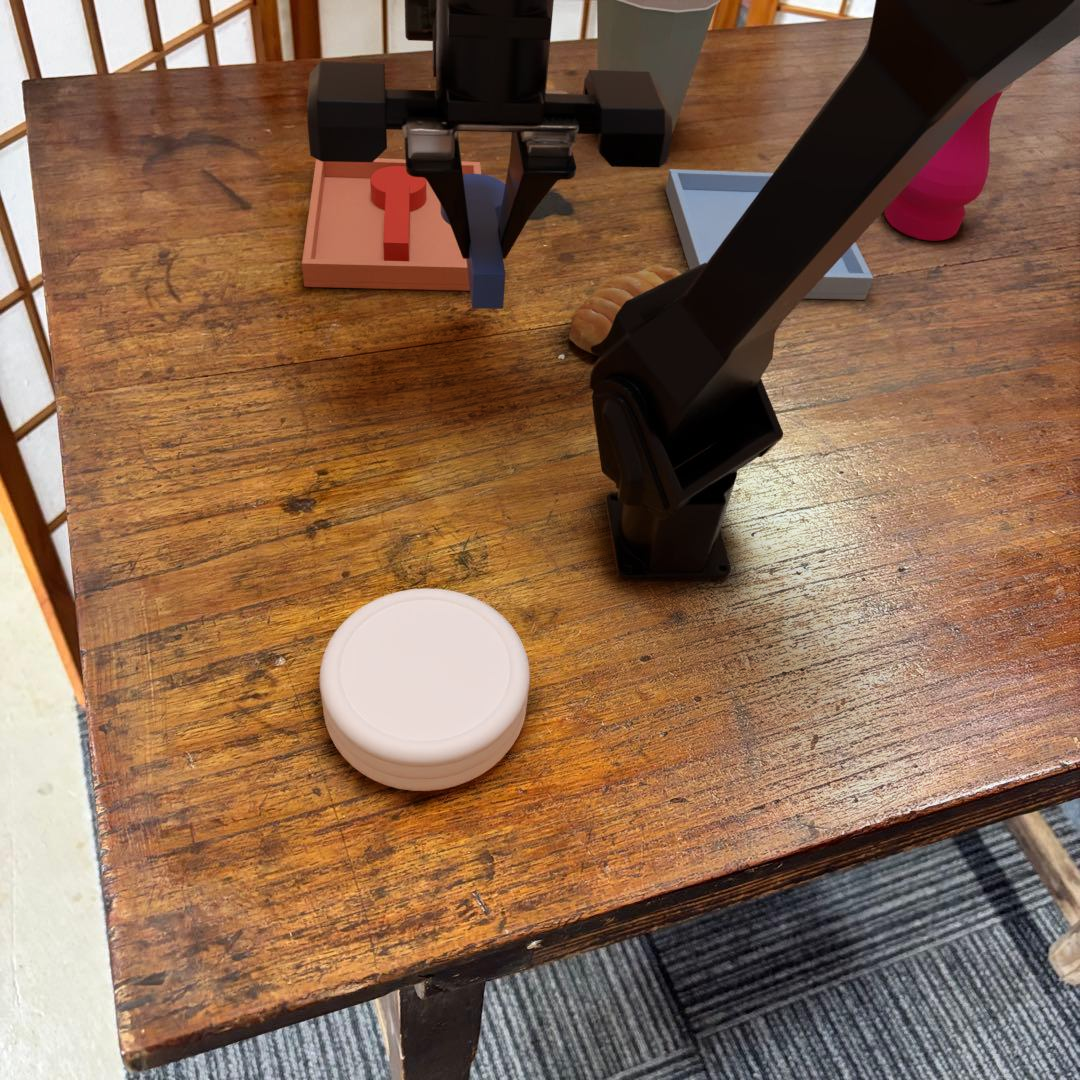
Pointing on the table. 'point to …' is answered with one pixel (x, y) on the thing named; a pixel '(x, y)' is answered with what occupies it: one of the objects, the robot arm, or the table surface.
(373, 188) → the red spoon
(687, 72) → the disposable coffee cup
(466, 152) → the table surface
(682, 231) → the blue tray
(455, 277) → the red tray
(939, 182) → the pepper mill
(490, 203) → the blue spoon
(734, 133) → the table surface
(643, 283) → the pastry
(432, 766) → the white round tin
